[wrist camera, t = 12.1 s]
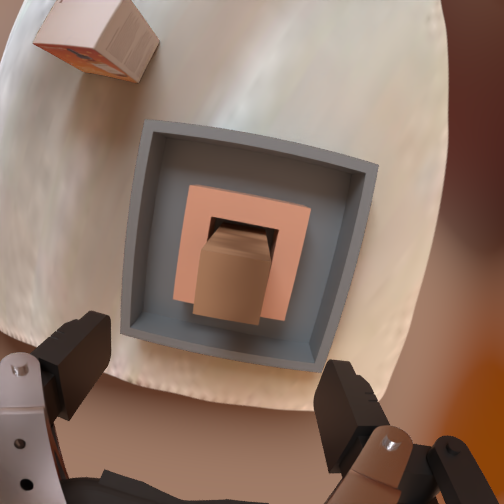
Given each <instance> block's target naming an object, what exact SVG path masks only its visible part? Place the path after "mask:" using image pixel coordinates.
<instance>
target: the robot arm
mask: <svg viewBox="0 0 504 504" xmlns="http://www.w3.org/2000/svg"><path fill="white" fill-rule="evenodd" d="M110 357H111V319H110V317H109V316H108V315H105V314H102V313H98V312H95V311H89V312H88V313H86V314H85V315H84V316H83V317H82V318H81V319H80V320H77V319H75V320H72V321H70V322H67V323H65V324H63V325H62V326H61V327H60V328H59V329H58V330H57V332H56V331H55V332H54V333H53V334H52V335H51V337H48V338H47V339H46V340H45V341H44V342H43V343H42V344H40V345H39V346H38V347H37V348H36V349H35V350H34V351H33V352H31V353H30V354H27V353H12V354H9V355H7V356H6V357H4V358H3V359H2V361H1V362H0V504H269V503H258V502H245V501H237V500H229V499H226V500H206V501H205V500H203V501H186V500H181V499H178V498H176V497H173V496H171V495H169V494H167V493H165V492H162V491H160V490H158V489H156V488H154V487H152V486H150V485H148V484H146V483H144V482H142V481H138V480H135V479H132V478H128V477H125V476H122V475H119V474H116V473H113V472H110V471H108V470H104V471H103V474H102V476H101V478H88V477H82V478H70V479H69V476H68V474H67V471H66V468H65V464H64V461H63V457H62V454H61V450H60V446H59V442H58V437H57V433H56V429H55V425H54V421H55V419H56V418H57V417H61V418H63V419H65V420H68V421H70V419H71V418H72V416H73V415H74V413H75V412H76V410H77V409H78V407H79V406H80V404H81V403H82V401H83V400H84V398H85V397H86V396H87V394H88V393H89V392H90V390H91V389H92V387H93V386H94V384H95V383H96V381H97V380H98V379H99V377H100V376H101V375H102V373H103V372H104V370H105V369H106V368H107V366H108V364H109V361H110ZM377 401H378V400H377V398H376V396H375V395H374V392H373V390H372V388H371V386H370V384H369V383H368V382H367V381H366V380H365V379H364V378H363V377H362V376H360V375H356V373H355V371H354V369H353V367H352V365H351V363H350V362H349V361H340V360H329V361H328V362H327V364H326V366H325V369H324V371H323V374H322V376H321V379H320V382H319V384H318V387H317V389H316V392H315V395H314V411H315V415H316V419H317V423H318V428H319V432H320V436H321V441H322V445H323V449H324V454H325V458H326V462H327V467H328V471H329V473H341V474H342V479H341V481H340V482H339V483H338V485H337V486H336V488H335V489H334V491H333V492H332V493H331V495H330V496H329V497H328V499H327V500H326V502H325V503H324V504H439V503H438V501H437V499H436V495H437V494H438V493H439V492H440V491H441V493H442V496H443V498H444V501H445V503H446V504H499V503H498V501H497V499H496V497H495V495H494V493H493V491H492V489H491V487H490V486H489V484H488V482H487V480H486V479H485V476H484V475H483V473H482V471H481V469H480V468H479V466H478V464H477V462H476V461H475V459H474V457H473V455H472V454H471V452H470V451H469V449H468V447H467V446H466V444H465V443H464V442H463V441H461V440H460V439H458V438H456V437H453V436H442V437H440V438H438V439H437V440H436V442H435V443H434V445H433V446H432V447H431V446H424V445H417V444H413V442H412V439H411V437H410V436H409V435H408V434H407V433H406V432H405V431H403V430H402V429H400V428H398V427H395V426H390V424H389V422H388V420H387V418H386V416H385V414H384V412H383V410H382V408H381V406H380V404H379V402H377Z"/></svg>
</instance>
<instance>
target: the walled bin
mask: <svg viewBox="0 0 504 504" xmlns="http://www.w3.org/2000/svg"><path fill="white" fill-rule="evenodd" d="M378 167H379V165H378V164H374V163H371V162H368V161H364V160H361V159H358V158H354V157H350V156H347V155H343V154H340V153H336V152H332V151H328V150H324V149H320V148H316V147H312V146H308V145H304V144H299V143H295V142H291V141H286V140H281V139H277V138H272V137H267V136H262V135H256V134H251V133H246V132H240V131H234V130H228V129H222V128H215V127H209V126H202V125H194V124H186V123H178V122H169V121H160V120H149V119H145V121H144V125H143V130H142V135H141V140H140V145H139V150H138V155H137V161H136V167H135V173H134V179H133V185H132V192H131V199H130V206H129V214H128V222H127V231H126V240H125V251H124V263H123V277H122V295H121V327H120V334H123V335H126V336H130V337H133V338H137V339H141V340H145V341H148V342H152V343H156V344H160V345H164V346H169V347H173V348H177V349H181V350H186V351H190V352H195V353H199V354H204V355H209V356H214V357H219V358H224V359H230V360H235V361H241V362H247V363H253V364H259V365H265V366H272V367H279V368H286V369H293V370H301V371H310V372H318V373H322V370H323V367H324V364H325V362H326V359H327V356H328V353H329V350H330V348H331V345H332V342H333V339H334V336H335V333H336V330H337V327H338V324H339V321H340V318H341V314H342V311H343V308H344V305H345V302H346V298H347V295H348V291H349V288H350V285H351V281H352V278H353V274H354V271H355V267H356V263H357V259H358V256H359V252H360V248H361V244H362V240H363V236H364V232H365V228H366V224H367V219H368V215H369V211H370V206H371V202H372V197H373V192H374V187H375V182H376V177H377V172H378ZM223 222H226V223H231V224H237V225H243V226H249V227H254V228H260V229H265V231H266V236H267V242H268V247H269V252H270V258H271V266H270V271H269V276H268V281H267V286H266V291H265V296H264V301H263V305H262V310H261V315H260V320H259V325H253V324H247V323H241V322H235V321H229V320H224V319H218V318H213V317H207V316H202V315H197V314H193V307H194V299H195V291H196V283H197V275H198V268H199V260H200V253H201V249H202V248H203V247H204V245H205V244H206V243H207V241H208V240H209V239H210V238H211V236H212V235H213V234H214V233H215V232H216V230H217V229H218V228H219V227H220V225H221V224H222V223H223Z"/></svg>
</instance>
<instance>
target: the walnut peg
mask: <svg viewBox="0 0 504 504" xmlns="http://www.w3.org/2000/svg"><path fill="white" fill-rule="evenodd" d="M270 266H271V258H270V252H269V247H268V242H267V236H266V231H265V229H260V228H254V227H249V226H243V225H237V224H231V223H226V222H223V223H222V224H221V225H220V227H219V228H218V229H217V230H216V232H215V233H214V234H213V235H212V236H211V238H210V239H209V240H208V241H207V243H206V244H205V245H204V247H203V248H202V249H201V253H200V260H199V268H198V275H197V283H196V291H195V299H194V307H193V314H197V315H202V316H207V317H213V318H218V319H224V320H229V321H235V322H241V323H247V324H253V325H259V320H260V315H261V310H262V305H263V301H264V296H265V291H266V286H267V281H268V276H269V271H270Z"/></svg>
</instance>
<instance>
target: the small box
mask: <svg viewBox="0 0 504 504" xmlns="http://www.w3.org/2000/svg"><path fill="white" fill-rule="evenodd" d="M159 42H160V40H159V39H158V37H157V36H156V35H155V33H154V32H153V30H152V29H151V27H150V26H149V25H148V23H147V22H146V20H145V19H144V17H143V16H142V15H141V13H140V12H139V11H138V9H137V8H136V6H135V5H134V4H133V2H132V1H131V0H57V1H56V3H55V4H54V6H53V7H52V9H51V11H50V12H49V14H48V16H47V17H46V19H45V21H44V23H43V24H42V26H41V28H40V30H39V31H38V33H37V35H36V37H35V39H34V41H33V44H34V45H36V46H38V47H40V48H42V49H43V50H45V51H47V52H49V53H51V54H53V55H54V56H56V57H58V58H60V59H62V60H63V61H65V62H67V63H69V64H70V65H72V66H74V67H76V68H77V69H79V70H81V71H83V72H86V73H93V74H99V75H104V76H109V77H113V78H117V79H122V80H126V81H130V82H134V83H139V81H140V79H141V77H142V75H143V73H144V71H145V69H146V67H147V65H148V63H149V61H150V59H151V57H152V55H153V53H154V51H155V49H156V47H157V46H158V44H159Z"/></svg>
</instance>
